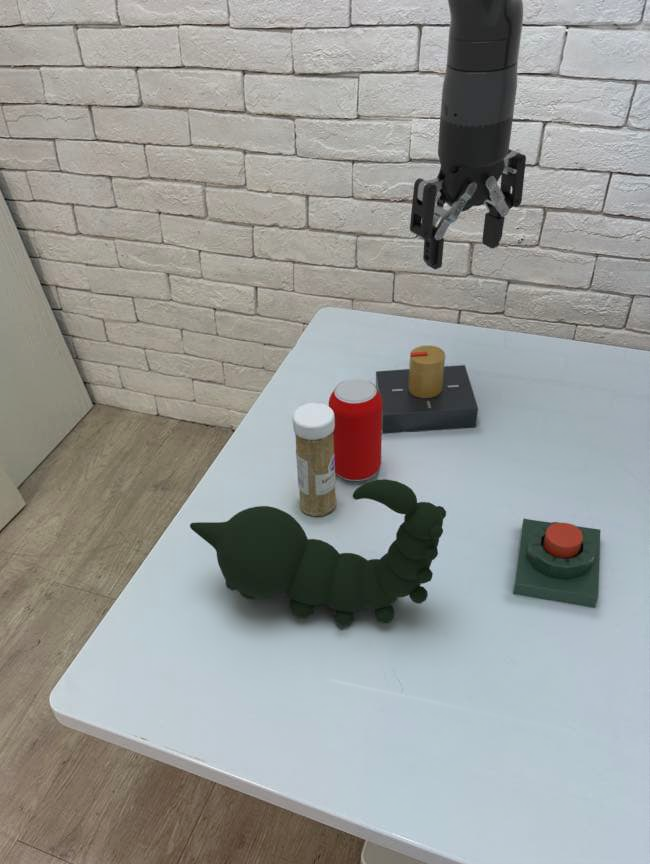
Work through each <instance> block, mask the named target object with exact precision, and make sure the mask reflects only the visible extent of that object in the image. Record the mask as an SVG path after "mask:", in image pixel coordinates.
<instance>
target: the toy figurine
mask: <svg viewBox="0 0 650 864" xmlns="http://www.w3.org/2000/svg"><path fill="white" fill-rule="evenodd" d="M352 498H353V499H354V500H356V501H358V500H363V499H366V500H370V501H371V500H372V501H375V502H377V503H379V504H382V505H384V506H386V507H387V508H389V509H390V510H391V511H393V512H395V513H397V514H400V515H404V517H403V519H404V521H403V522H402V523H400V525H399V526H398V529H397V531H396V534H395V538H396V539H394V541H393V542H392V543H391V544H390V545H389V547H388V550H387V553H385V554H384V555H382V556H381V557H380V558H372V559H371V558H370V559H367V558H366V557H364V556H362V555H360V554H357V553H352V552H341V553H339V551H338V550H337V549H336V548H335V547H334V546H333V545H331V543H329V542H326V541H324V540H321V539H317V538H308V537H307V534H306V531H305V530H304V529H303V526H302V525H301V524H300V523H299V522H298V520H296V518H294V517H293V516H292V515H291V514H289V513H288V512H286V511H284V510H282V509H280V508H277V507H274V506H270V505H259V506H252V507H249V508H245V509H242V510H241V511H239V512H237V513H235V514H234V515H232V517H231V518H229V519H228V520H226V521H222V522H219V521H217V522H215V521H214V522H213V521H212V522H210V521H209V522H205V521H204V522H203V521H202V522H200V521H199V522H198V521H197V522H192V523H190V524H189V528H190V530H192V531H193V532H194V533H195V534H197V536H199V537H200V538H201V539H202V540H203V541H205V542H206V543H207V544H209V545H210V546H211V547H213V549H214V550H215V552H216V560H217V564H218V567H219V569H220V572H221V574H222V576H223V579H225V586H226V589H228V590H230V591H237V592H238V593H239V594H240V596H241V597H243V598H245V599H248V600H249V599H251V600H253V599H255V598H259V599H260V598H261V599H265V598H267V599H268V598H273V597H277V596H281V595H283V594H286V595H287V596H288V597H289V598H291V599H290V601H289V608H290V611H291V614H292V615H293V616H294V617H296V618H298V619H307V618H308V617H309V616H311V615H312V614H313V613H314V611H315V608H316V606H317V605H322V604H326V605H327V606H328V607H329V608H331V609H333V610H334V611H335V612H334V613H333V619H334V622H335V623H336V624H337V625H339V626H341V627H347V626H351V624H352V623H353V621H354V616H355V612H359V611H362V610H363V609H365V608H367V609H371V610H374V617H375V620H376V621H377V622H378V623H381V624H390V623H391V622H392V621H393V620H394V619H395V615H396V612H395V607H394V606H393V604H394V603H395V602H397V600H398V599H400V598H401V599H402V598H405V597H408V596H409V599H410V600H411V601H412V602H413V603H414V604H418V605H421V604H423V603H424V602H425V601H427V598H428V596H429V594H428V590H427V589H426V588H425V587H424V586H422V584H427V583H429V582H431V581H432V580H433V575H434V572H433V571H432V570H431V569H430V568H431V565H432V563H433V561H434V560H436V558H437V557H438V555H439V550H438V546H439V543H440V538H441V537H442V535H443V533H444V529H443V525H444V519H445V518H446V516H447V511H446V509H445V508H444V507H443V506H441V505H437V506H436V505H435V504H433V503H431V502H429V501H419V502H418V498H417V495H416V493H415V491H414V490H413V489H412V488H411V487H410V486H408V485H406V484H405V483H402V482H399V481H397V480H392V479H387V478H385V479H382V478H381V479H374V480H370V481H367V482H365V483H363V484H361V485H360V486H359V487H357V488H356V489H355V490H353V492H352Z"/></svg>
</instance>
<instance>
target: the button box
mask: <svg viewBox="0 0 650 864" xmlns="http://www.w3.org/2000/svg"><path fill="white" fill-rule="evenodd" d="M555 523H560V521H559V522H558V521H553V522H550V521H543V520H536V519H529V518H523V519H522V524H521V528H520V529H521V530H520V536H519V544H518V550H517V551H518V552H517V559H516V567H515V575H514V582H513V591H512V594H513V595H517V596H523V597H528V598H535V599H541V600H546V601H553V602H559V603H562V604H563V603H564V604H570V605H576V606H582V607H586V608H587V607H589V608H596V606H597V603H598V598H599V587H600V586H599V584H600V557H601V529H600V528H593V527H585V526H578V525H575V524H572V523H571V524H572V525H574V526H576V527H577V528H578V529H579V530H580V531H581V532H582V534H583V540H582V544H581V547H580V551H579V553H578V554H577V555H575V556H574V557H571V558H558V557H555V556H552V555H551V554H549V553H548V552H547V551H546V550H545V548H544V545H543V542H544V538H545V534H546V530H547V528H548V527H549V526H550V525H552V524H555Z"/></svg>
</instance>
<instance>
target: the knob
mask: <svg viewBox="0 0 650 864" xmlns="http://www.w3.org/2000/svg"><path fill="white" fill-rule="evenodd" d="M445 362H446V353H445V351H444V350H443V349H442V348H440V347H438V346H435V345H429V344H428V345H420V346H417V347H415V348H413V349H412V350H411V351H410V353H409V364H408V365H409V367H408V369H409V383H408V390H409V392H410V393H411V394H412V395H414V396H416V397H419V398H432V397H435V396H437V395H439V394H440V393H441V391H442V386H443V375H444V366H445V364H446V363H445Z"/></svg>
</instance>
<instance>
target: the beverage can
mask: <svg viewBox="0 0 650 864" xmlns="http://www.w3.org/2000/svg"><path fill="white" fill-rule="evenodd" d="M328 407H330V408H331V409H332V410H333V412H334V419H335V428H334V431H333V443H334V458H335V475H337V476H338V477H340V478H341V479H343V480H346V481H352V482H359V481H360V482H361V481H365V480H368V479H370V478H373V477H374V476H376V475H377V473H378V472H379V471H380V468H381V465H382V441H383V438H382V437H383V435H382V434H383V433H382V397H381V394H380V393H379V391H378V390H377V388H376V385H375V384H374V383H372V382H371V381H368V380H365V379H361V378H352V379H347V380H344V381H341V382H340V383H339V384H336V386H335V388H334V389H333V390H332V392H331V394H330V396H329V399H328Z"/></svg>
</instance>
